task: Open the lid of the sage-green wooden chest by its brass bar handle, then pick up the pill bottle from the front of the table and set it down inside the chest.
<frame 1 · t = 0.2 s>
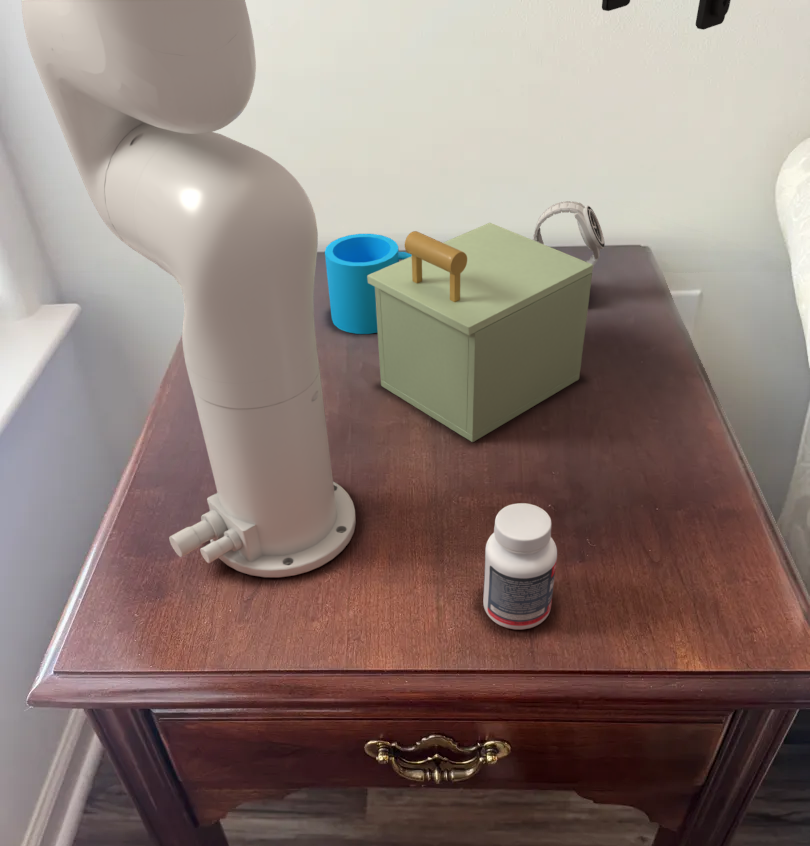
hand: (660, 16, 73), 31 cm above the table, tool pointing down, fingers open, 9 cm apart
mug: (382, 316, 100), on the table
pill bottle: (516, 607, 66), on the table
watch: (562, 298, 102), on the table
chest: (479, 382, 89), on the table
lid: (480, 250, 79), point 15 cm above the table, hinge at 0.0°
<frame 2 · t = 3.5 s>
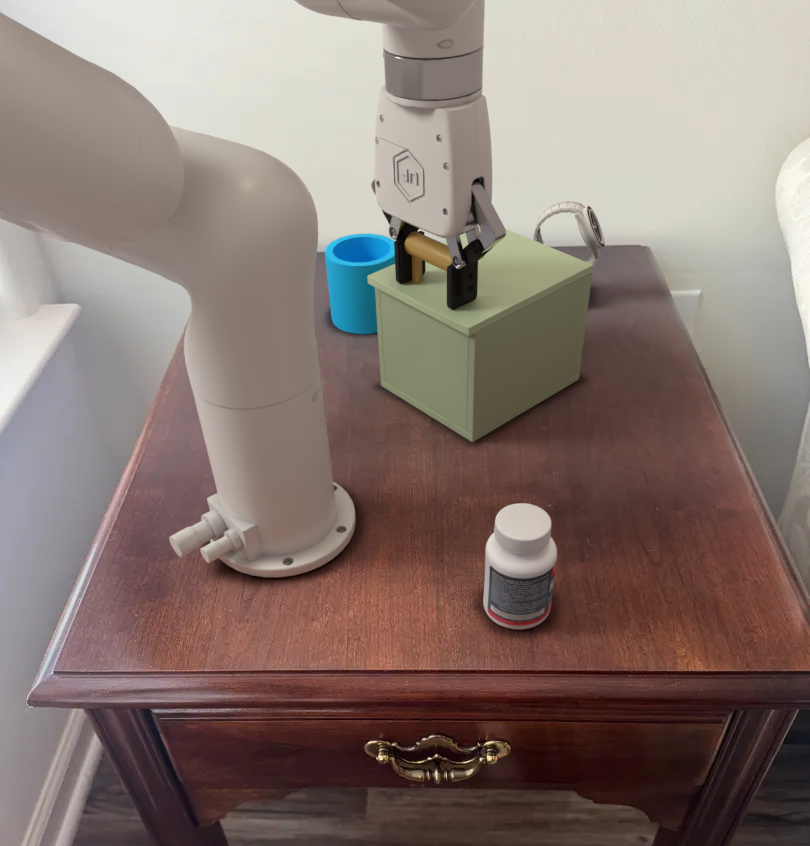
hand: (435, 289, 77), 13 cm above the table, tool pointing down, fingers closed on lid, 6 cm apart
lid: (480, 250, 79), point 15 cm above the table, hinge at -0.2°, touching gripper
everything else where it was.
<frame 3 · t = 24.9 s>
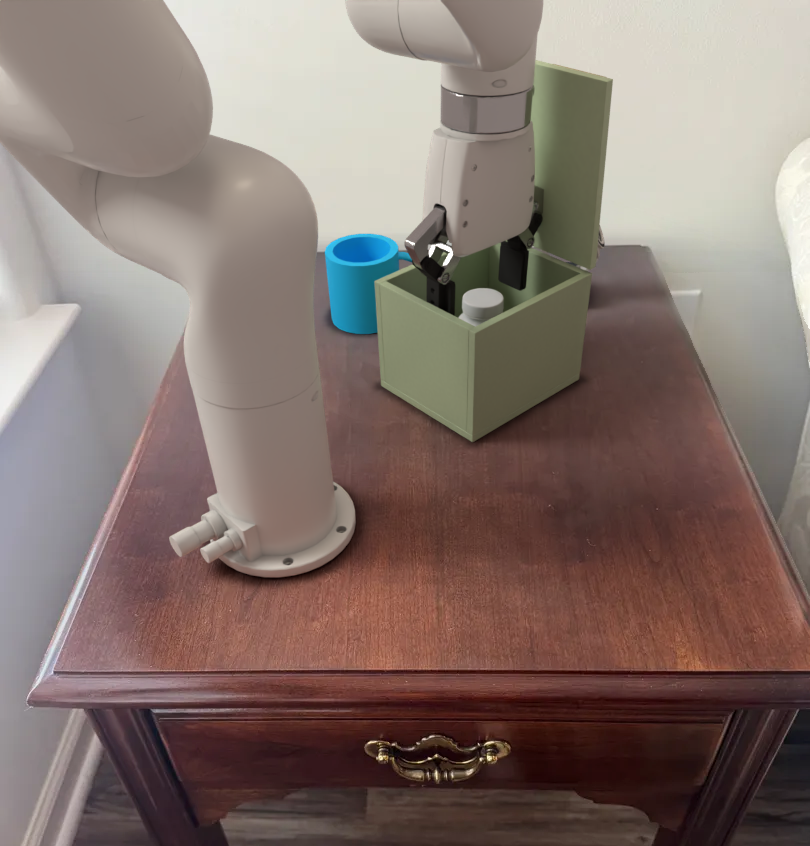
hand: (477, 301, 82), 10 cm above the table, tool pointing down, fingers open, 9 cm apart
pill bottle: (480, 378, 89), point 1 cm above the table, touching chest
lid: (559, 154, 79), point 21 cm above the table, hinge at 87.0°
everything else where it was.
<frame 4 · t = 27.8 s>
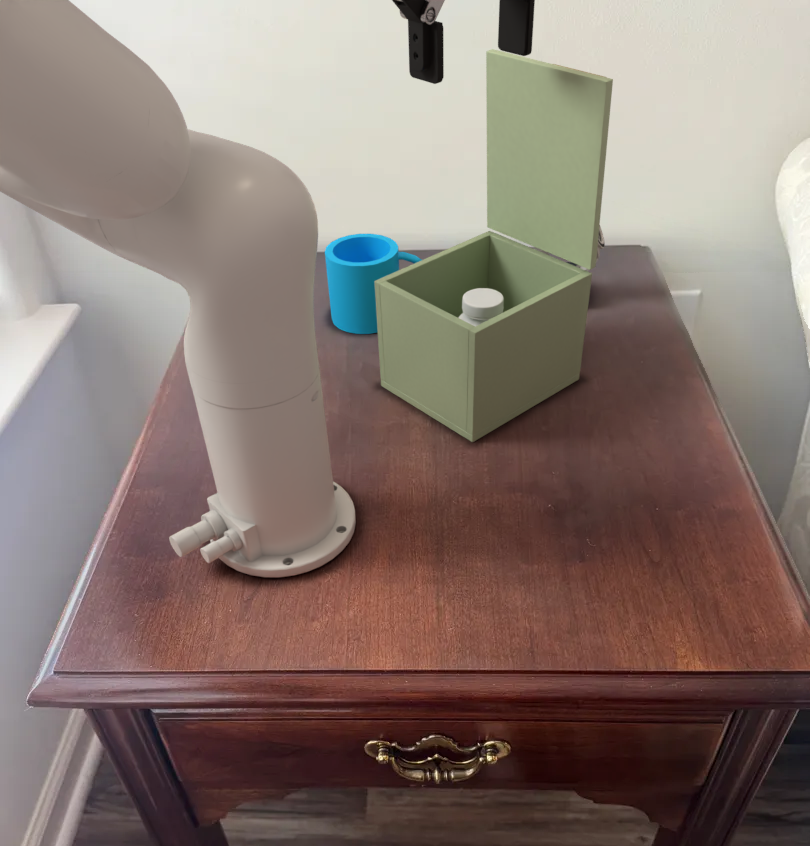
hand: (471, 65, 67), 30 cm above the table, tool pointing down, fingers open, 9 cm apart
nothing on the table moved.
at the end: lid at +87° (first picture: +0°); pill bottle inside the target area in the chest (0.1 cm from its centre), point 0.6 cm above the chest's base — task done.
